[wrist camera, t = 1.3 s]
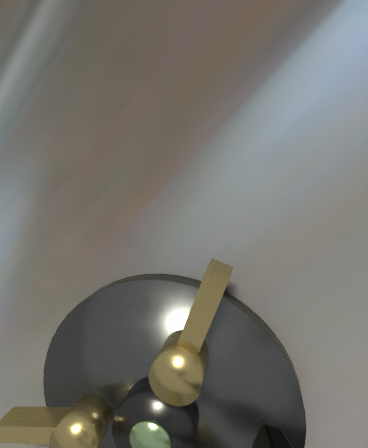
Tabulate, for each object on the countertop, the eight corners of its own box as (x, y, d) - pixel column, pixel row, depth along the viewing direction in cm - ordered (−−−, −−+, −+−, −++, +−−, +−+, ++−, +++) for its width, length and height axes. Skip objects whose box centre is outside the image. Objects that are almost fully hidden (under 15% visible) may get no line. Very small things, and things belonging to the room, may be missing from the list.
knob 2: (199, 380, 21) (190, 415, 18) (157, 360, 22) (141, 390, 19) (246, 271, 19) (244, 289, 16) (199, 251, 20) (189, 265, 17)
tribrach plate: (318, 518, 23) (332, 595, 19) (82, 497, 28) (52, 554, 24) (282, 259, 21) (290, 281, 16) (32, 286, 25) (-12, 307, 21)
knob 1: (108, 393, 23) (86, 427, 20) (116, 431, 24) (96, 470, 20) (14, 393, 25) (-19, 424, 22) (23, 428, 26) (-9, 463, 23)
